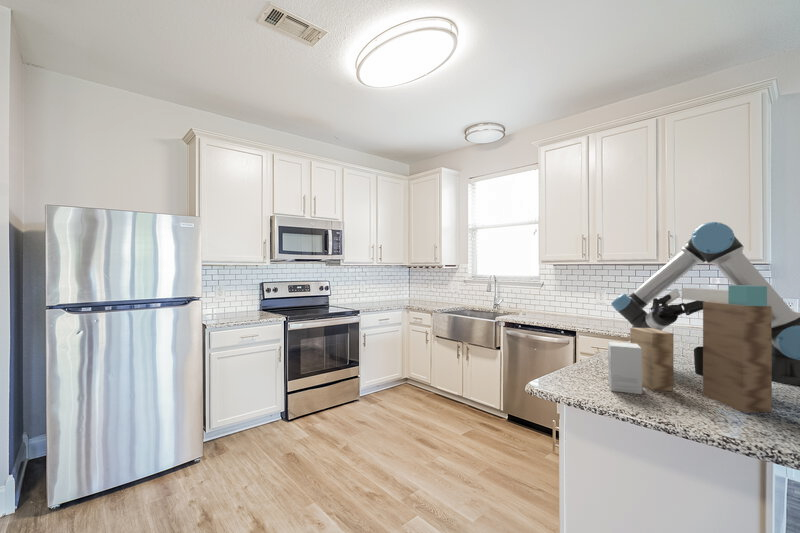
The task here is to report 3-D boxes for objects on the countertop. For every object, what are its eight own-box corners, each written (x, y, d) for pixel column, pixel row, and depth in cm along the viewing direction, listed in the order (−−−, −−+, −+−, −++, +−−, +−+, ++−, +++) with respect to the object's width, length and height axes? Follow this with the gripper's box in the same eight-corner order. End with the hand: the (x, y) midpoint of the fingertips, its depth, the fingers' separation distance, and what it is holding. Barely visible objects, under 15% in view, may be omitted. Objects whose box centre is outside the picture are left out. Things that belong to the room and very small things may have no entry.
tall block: (728, 395, 117) (728, 302, 118) (771, 412, 103) (771, 306, 104) (703, 395, 118) (703, 301, 118) (742, 411, 104) (742, 305, 104)
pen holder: (687, 371, 146) (687, 346, 147) (710, 371, 147) (710, 346, 147) (708, 378, 137) (708, 351, 137) (732, 378, 137) (732, 351, 138)
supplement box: (638, 387, 125) (638, 343, 125) (642, 395, 117) (642, 348, 117) (607, 383, 129) (607, 340, 129) (610, 390, 121) (610, 345, 121)
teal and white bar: (679, 298, 130) (679, 283, 130) (695, 299, 130) (695, 283, 130) (746, 305, 104) (746, 286, 104) (767, 306, 104) (767, 286, 104)
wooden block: (649, 380, 134) (649, 327, 134) (673, 390, 122) (673, 333, 122) (630, 379, 134) (630, 327, 134) (652, 390, 122) (652, 333, 122)
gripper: (698, 326, 140) (741, 302, 122) (631, 325, 141) (664, 301, 123) (690, 308, 144) (731, 283, 126) (626, 307, 145) (657, 282, 127)
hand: (698, 292), depth 124 cm, fingers open, 13 cm apart
